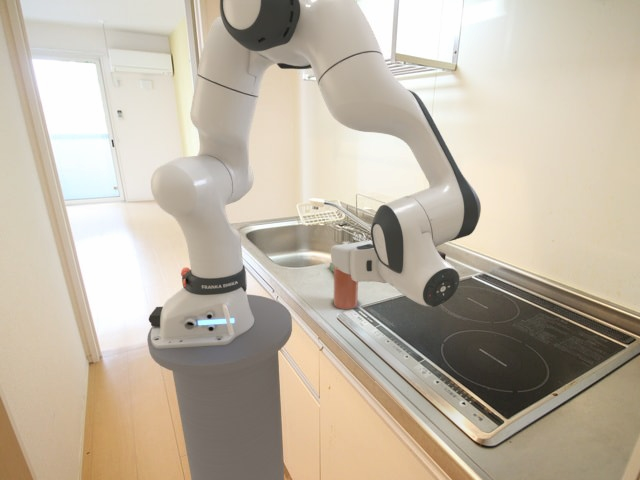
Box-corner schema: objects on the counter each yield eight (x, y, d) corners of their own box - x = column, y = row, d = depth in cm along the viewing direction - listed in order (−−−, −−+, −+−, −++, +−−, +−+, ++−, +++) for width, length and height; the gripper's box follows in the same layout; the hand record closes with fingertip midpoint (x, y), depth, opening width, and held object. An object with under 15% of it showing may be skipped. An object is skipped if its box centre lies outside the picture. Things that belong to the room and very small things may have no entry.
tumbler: (338, 310, 96) (338, 272, 92) (330, 300, 102) (331, 263, 98) (360, 307, 98) (362, 269, 94) (352, 297, 104) (353, 261, 100)
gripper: (439, 237, 73) (404, 223, 85) (345, 251, 66) (321, 233, 78) (438, 266, 75) (404, 249, 87) (346, 283, 68) (323, 261, 80)
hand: (364, 242), depth 82 cm, fingers open, 8 cm apart
